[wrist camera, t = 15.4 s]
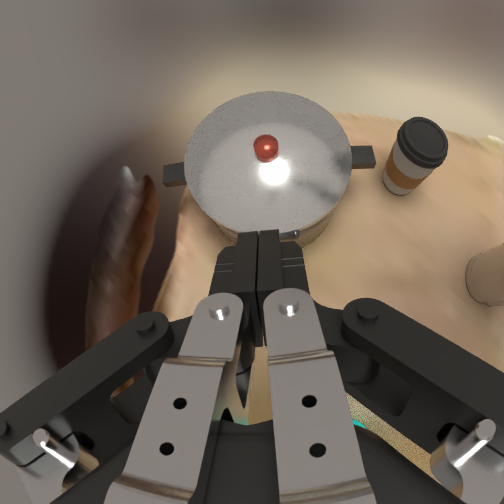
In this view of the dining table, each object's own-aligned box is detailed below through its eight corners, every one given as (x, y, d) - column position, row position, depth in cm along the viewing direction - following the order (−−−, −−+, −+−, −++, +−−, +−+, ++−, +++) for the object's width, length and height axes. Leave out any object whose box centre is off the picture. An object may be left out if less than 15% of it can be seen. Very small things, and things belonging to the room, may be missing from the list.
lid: (185, 250, 39) (176, 243, 36) (190, 107, 45) (184, 94, 42) (364, 235, 37) (371, 227, 34) (333, 93, 43) (335, 79, 39)
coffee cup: (409, 209, 49) (444, 172, 35) (370, 186, 51) (393, 141, 37) (422, 175, 50) (455, 132, 36) (385, 153, 52) (409, 105, 38)
